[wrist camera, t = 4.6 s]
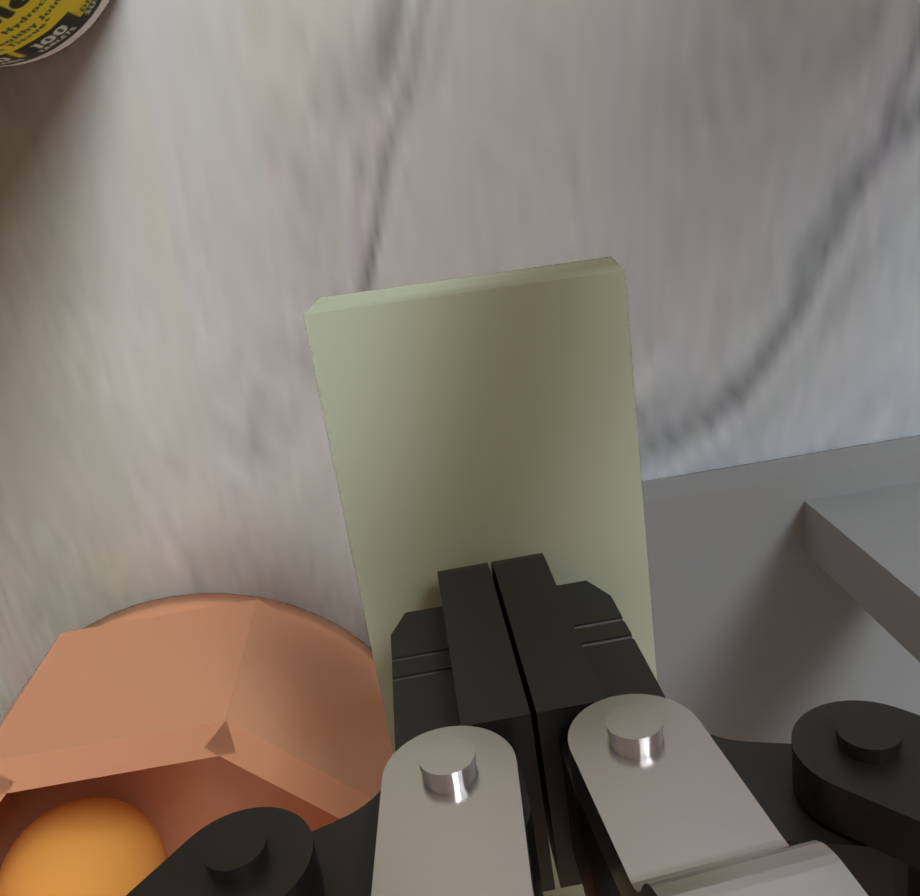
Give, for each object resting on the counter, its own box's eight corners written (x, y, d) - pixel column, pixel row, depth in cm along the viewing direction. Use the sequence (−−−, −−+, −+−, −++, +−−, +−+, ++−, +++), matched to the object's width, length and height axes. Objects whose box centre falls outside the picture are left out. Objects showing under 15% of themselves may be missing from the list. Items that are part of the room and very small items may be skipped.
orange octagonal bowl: (-61, 635, 23) (-204, 795, 17) (393, 558, 23) (399, 689, 18) (71, 972, 27) (-9, 1191, 21) (458, 900, 27) (479, 1096, 22)
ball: (178, 787, 22) (81, 748, 24) (35, 909, 19) (-62, 851, 21) (215, 908, 23) (120, 860, 26) (87, 1040, 20) (-9, 973, 22)
